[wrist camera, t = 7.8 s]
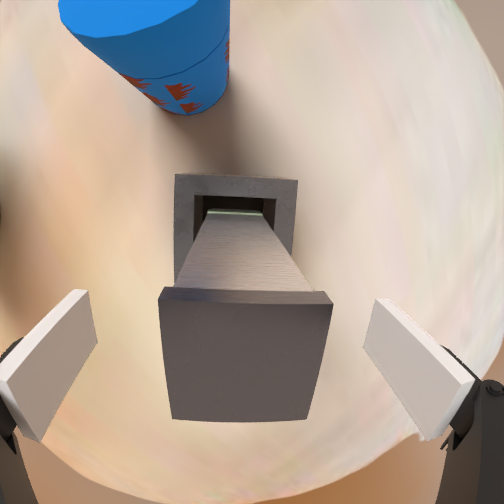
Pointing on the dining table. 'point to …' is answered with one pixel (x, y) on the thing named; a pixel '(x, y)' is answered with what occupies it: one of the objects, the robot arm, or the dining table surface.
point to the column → (241, 326)
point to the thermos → (159, 46)
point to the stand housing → (198, 184)
